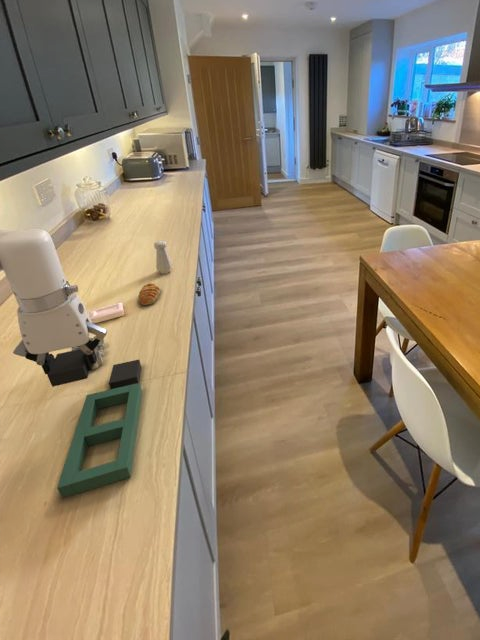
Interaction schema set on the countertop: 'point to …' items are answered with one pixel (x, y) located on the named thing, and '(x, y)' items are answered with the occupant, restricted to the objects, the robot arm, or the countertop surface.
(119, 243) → the countertop surface
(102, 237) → the countertop surface
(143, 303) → the pastry
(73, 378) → the pad
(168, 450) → the countertop surface
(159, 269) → the salt shaker
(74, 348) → the egg carton
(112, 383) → the pad
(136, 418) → the green double tile frame
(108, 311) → the soap bar
